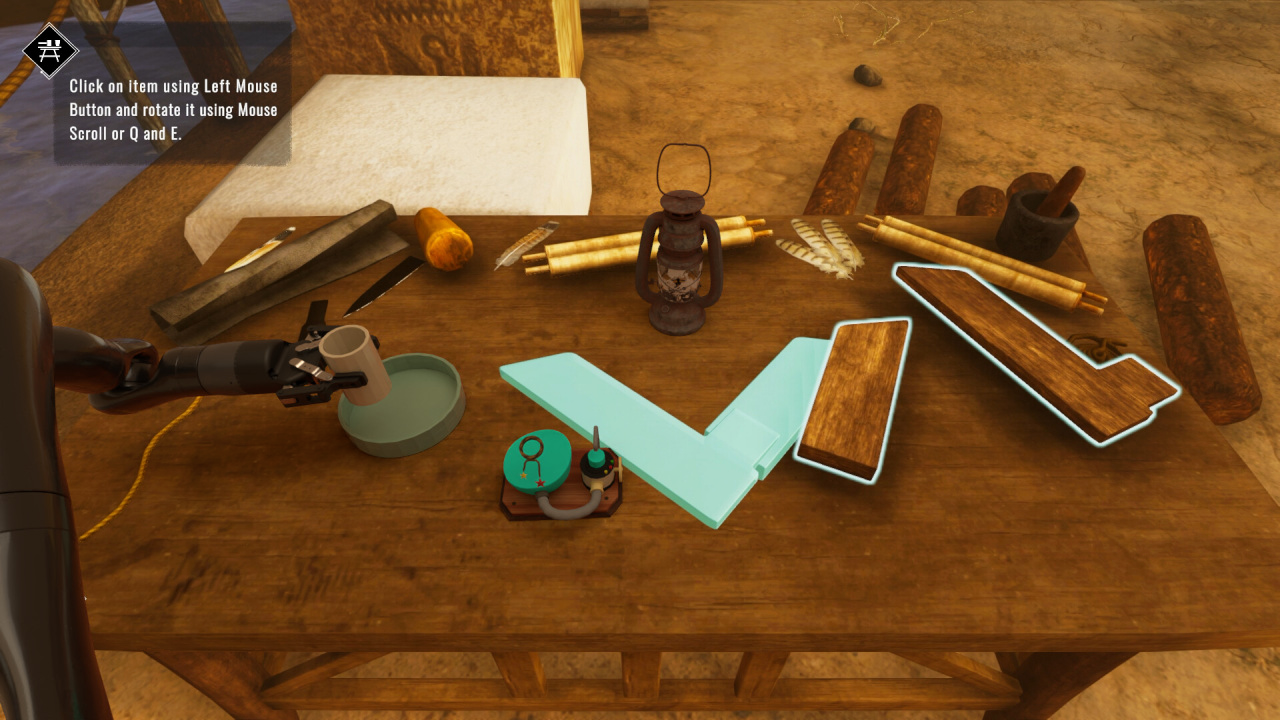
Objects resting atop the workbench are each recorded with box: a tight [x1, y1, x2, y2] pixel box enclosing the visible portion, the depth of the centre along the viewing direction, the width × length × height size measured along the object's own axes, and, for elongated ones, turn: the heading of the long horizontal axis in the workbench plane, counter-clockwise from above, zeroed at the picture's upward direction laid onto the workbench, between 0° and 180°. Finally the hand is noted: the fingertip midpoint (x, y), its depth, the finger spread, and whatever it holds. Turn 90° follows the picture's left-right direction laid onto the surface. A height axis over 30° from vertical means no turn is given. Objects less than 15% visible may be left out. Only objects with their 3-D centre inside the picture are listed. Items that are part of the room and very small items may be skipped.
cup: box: [319, 324, 392, 406], centre depth 81 cm, size 6×6×10 cm
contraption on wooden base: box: [498, 425, 624, 522], centre depth 79 cm, size 14×18×15 cm
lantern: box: [634, 142, 724, 337], centre depth 99 cm, size 11×16×35 cm
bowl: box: [337, 352, 467, 459], centre depth 94 cm, size 19×19×4 cm
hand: (371, 359), depth 80 cm, fingers closed on cup, 6 cm apart
